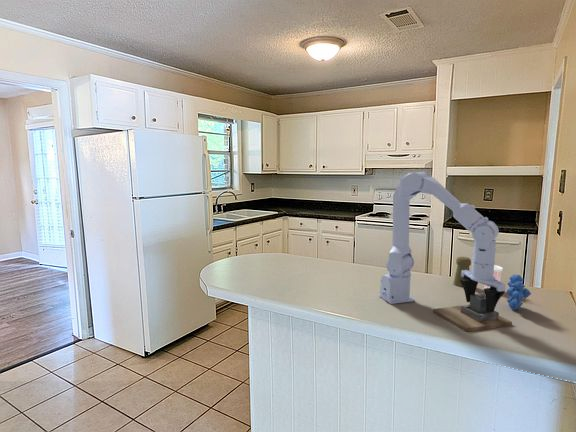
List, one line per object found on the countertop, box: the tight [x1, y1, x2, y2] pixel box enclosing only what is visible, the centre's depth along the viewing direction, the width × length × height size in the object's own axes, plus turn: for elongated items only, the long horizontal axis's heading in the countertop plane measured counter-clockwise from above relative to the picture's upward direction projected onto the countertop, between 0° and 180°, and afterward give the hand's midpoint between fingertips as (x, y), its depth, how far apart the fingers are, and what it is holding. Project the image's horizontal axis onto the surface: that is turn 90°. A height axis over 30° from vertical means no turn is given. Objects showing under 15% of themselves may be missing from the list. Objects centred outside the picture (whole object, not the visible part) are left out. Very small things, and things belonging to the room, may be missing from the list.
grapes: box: [505, 273, 532, 311], centre depth 113 cm, size 12×7×12 cm, turn 157°
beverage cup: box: [483, 264, 504, 290], centre depth 131 cm, size 6×6×14 cm
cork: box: [453, 256, 472, 288], centre depth 137 cm, size 6×6×11 cm
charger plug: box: [469, 292, 490, 314], centre depth 107 cm, size 4×4×7 cm
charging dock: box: [432, 303, 513, 333], centre depth 108 cm, size 16×14×3 cm
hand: (479, 306), depth 107 cm, fingers open, 7 cm apart
